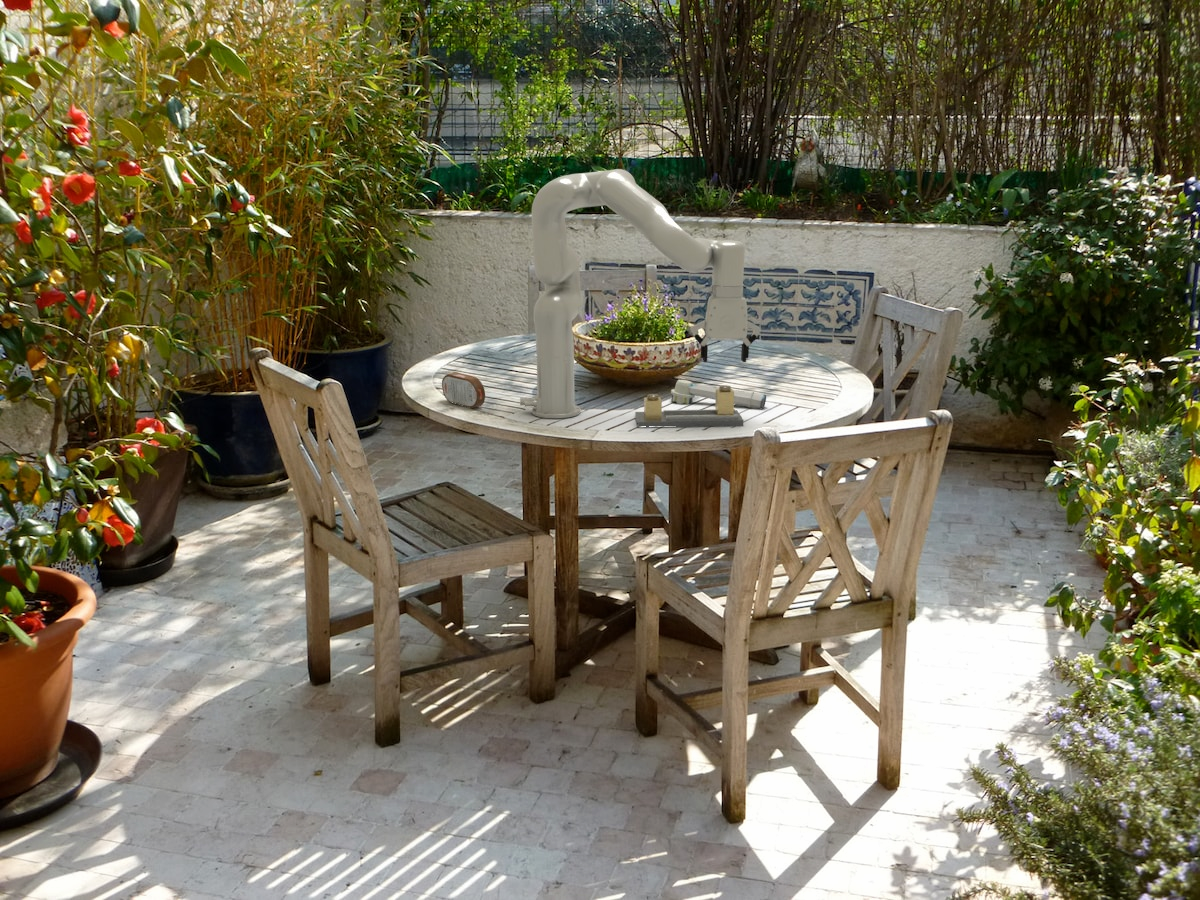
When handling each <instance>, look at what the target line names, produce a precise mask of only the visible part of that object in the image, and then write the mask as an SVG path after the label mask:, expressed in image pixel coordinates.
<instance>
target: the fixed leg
mask: <svg viewBox="0 0 1200 900" xmlns="http://www.w3.org/2000/svg"><path fill="white" fill-rule="evenodd" d="M662 403H663V401H662V399H661V396H659V394H657V393H648V394H647V396H646V397H644V399H643V408H644V409H643V412H644V416H645V419H662V411H663V410H662V409H663V408H662V407H663V404H662Z"/></svg>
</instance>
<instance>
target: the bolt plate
mask: <svg viewBox="0 0 1200 900" xmlns="http://www.w3.org/2000/svg"><path fill="white" fill-rule="evenodd" d="M635 417H636V418H635ZM634 418H635V421H637V422H636V424H637V423H638V425H637V427H638V426H646V427H649V426H676V427H675V428H700V427H701V428H702V427H704V428H705V427H707V428H708V427H709V428H712V427H744V422H745V421H744V419H743V417H742V415H741V414H740V413H739V411H738V409H737V410H736V409H735V408H734V414H733V415H717V414H716V412H715V408H714V409H710V408H709V409H664V410H662V419H645V416H644V411H635V412H634Z"/></svg>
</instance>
